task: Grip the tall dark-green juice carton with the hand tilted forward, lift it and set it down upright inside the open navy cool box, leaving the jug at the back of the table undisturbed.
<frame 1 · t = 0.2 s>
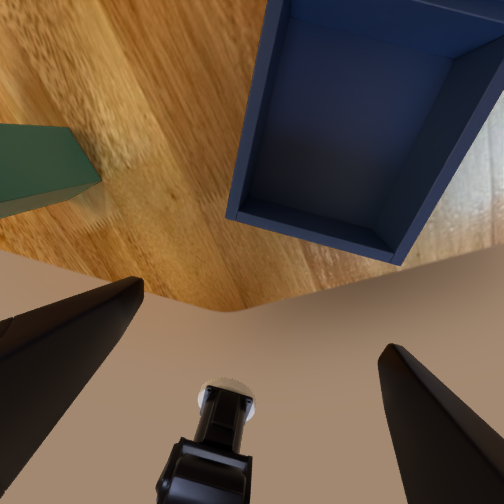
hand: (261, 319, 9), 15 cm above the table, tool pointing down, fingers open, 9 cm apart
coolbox: (334, 137, 19), on the table
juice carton: (67, 166, 23), on the table
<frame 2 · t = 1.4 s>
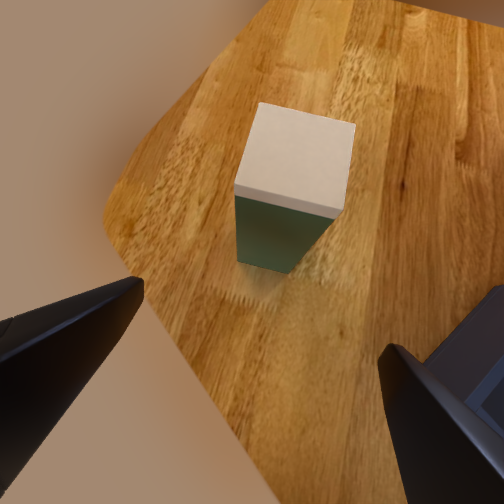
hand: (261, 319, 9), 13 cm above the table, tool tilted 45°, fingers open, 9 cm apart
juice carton: (268, 243, 24), on the table
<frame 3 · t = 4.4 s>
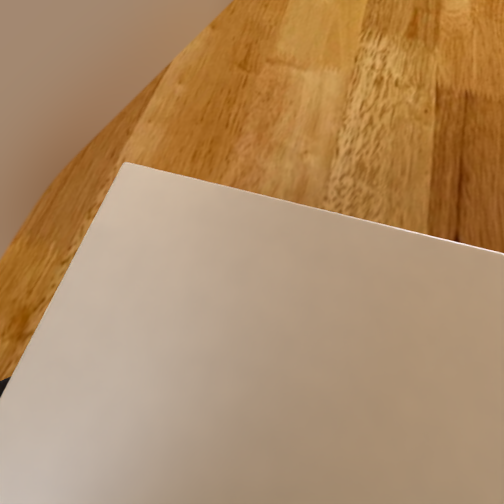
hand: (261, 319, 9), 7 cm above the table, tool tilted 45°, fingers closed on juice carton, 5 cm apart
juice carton: (248, 349, 15), on the table, touching gripper
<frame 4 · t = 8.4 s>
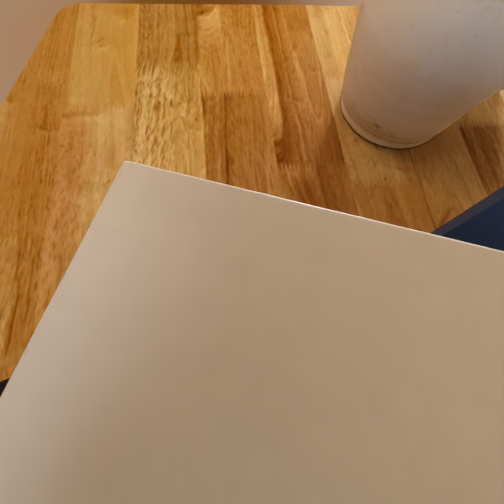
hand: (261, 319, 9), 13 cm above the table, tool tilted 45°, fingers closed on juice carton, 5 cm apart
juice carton: (249, 348, 15), point 7 cm above the table, touching gripper
jug: (388, 109, 30), on the table
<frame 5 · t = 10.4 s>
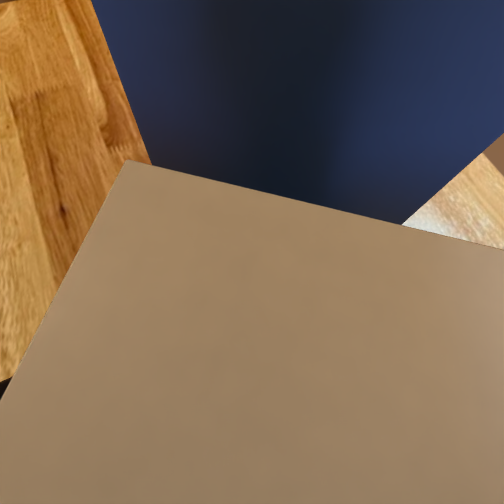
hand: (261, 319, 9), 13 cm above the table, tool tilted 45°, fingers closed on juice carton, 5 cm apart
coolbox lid: (294, 125, 11), point 13 cm above the table, hinge at 100.0°
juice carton: (249, 348, 15), point 6 cm above the table, touching gripper
when the fingers open (8 cm above the table, at t = 12.3 s): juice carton stays where it is, resting on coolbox.
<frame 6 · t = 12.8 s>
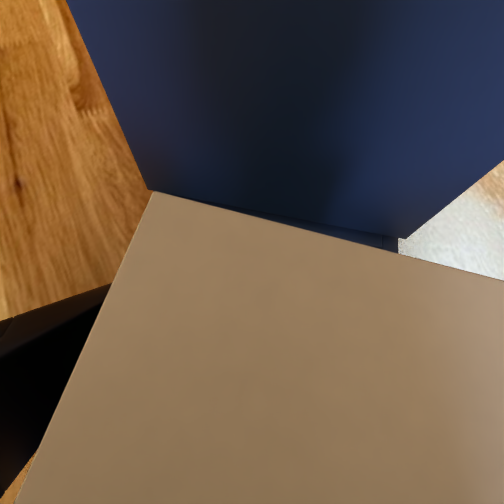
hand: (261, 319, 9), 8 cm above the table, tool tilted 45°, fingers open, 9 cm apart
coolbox: (246, 346, 16), on the table
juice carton: (248, 350, 15), point 1 cm above the table, touching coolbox
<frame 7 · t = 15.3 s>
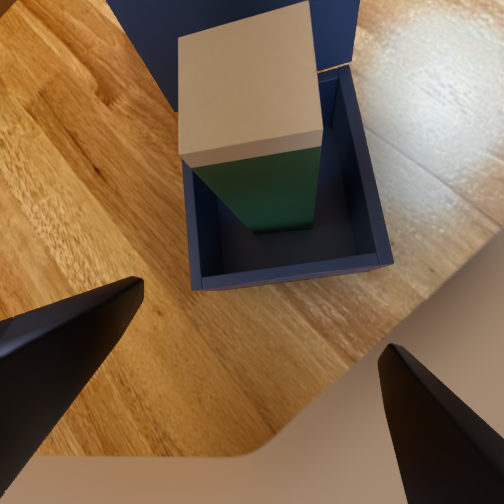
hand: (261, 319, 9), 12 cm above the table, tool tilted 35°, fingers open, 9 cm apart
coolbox: (279, 206, 22), on the table
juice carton: (280, 203, 21), point 1 cm above the table, touching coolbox
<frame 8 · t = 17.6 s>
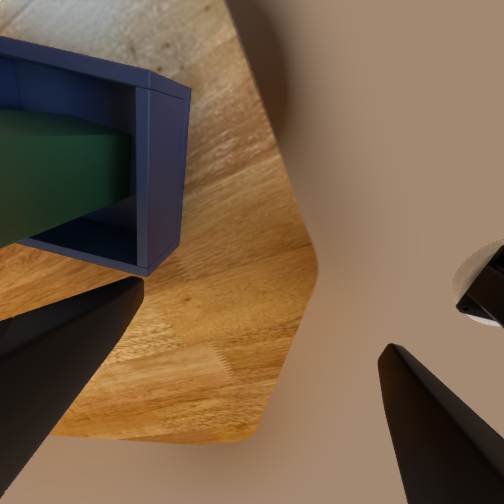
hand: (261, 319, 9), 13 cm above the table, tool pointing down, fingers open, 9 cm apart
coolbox: (106, 158, 20), on the table
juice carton: (100, 158, 20), point 1 cm above the table, touching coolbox
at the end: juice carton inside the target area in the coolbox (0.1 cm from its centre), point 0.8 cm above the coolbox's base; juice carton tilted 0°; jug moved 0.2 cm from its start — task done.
